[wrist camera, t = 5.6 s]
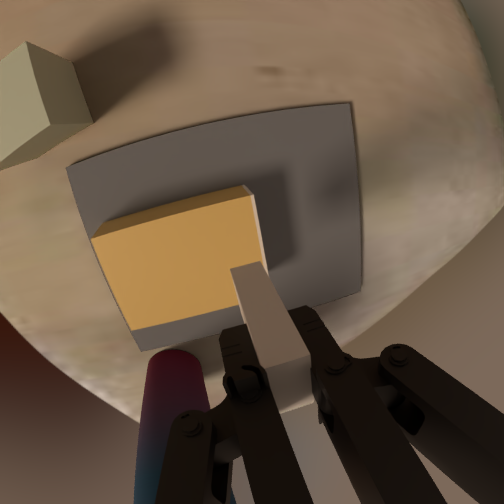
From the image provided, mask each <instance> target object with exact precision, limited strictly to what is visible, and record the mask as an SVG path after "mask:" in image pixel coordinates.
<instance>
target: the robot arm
mask: <svg viewBox="0 0 504 504" xmlns="http://www.w3.org/2000/svg"><path fill="white" fill-rule="evenodd" d="M230 272H231V276H232V280H233V284H234V288H235V291H236V295H237V299H238V303H239V307H240V311H241V314H242V317H243V321H244V324H242V325H238V326H234V327H231V328H227V329H223V330H222V332H221V335H220V338H219V342H220V347H221V352H222V357H223V362H224V367H225V372H226V373H225V375H224V377H223V386H224V389H225V391H226V393H227V396H226V398H225V399H224V400H223V401H222V403H221V404H219V405H218V406H216V407H215V408H213V409H211V410H209V411H207V412H203V411H200V410H188V411H185V412H183V413H181V414H179V415H178V416H177V417H176V418H175V419H174V420H173V423H172V425H171V428H170V432H169V437H168V441H167V446H166V450H165V455H164V460H163V464H162V469H161V474H160V479H159V484H158V489H157V494H156V499H155V504H230V497H231V482H232V467H233V460H234V459H236V458H238V457H240V456H241V455H242V457H243V461H244V464H245V469H246V472H247V476H248V480H249V484H250V488H251V491H252V495H253V499H254V502H255V504H314V503H313V501H312V498H311V496H310V493H309V491H308V488H307V485H306V483H305V480H304V478H303V475H302V472H301V470H300V467H299V464H298V462H297V459H296V457H295V454H294V451H293V448H292V446H291V444H290V441H289V438H288V435H287V432H286V430H285V427H284V424H283V421H282V419H281V416H280V413H283V412H286V411H290V410H293V409H296V408H299V407H302V406H305V405H308V404H311V403H313V402H314V398H315V400H316V402H317V404H318V419H319V424H321V423H322V422H323V424H324V426H325V428H326V430H327V432H328V435H329V437H330V439H331V441H332V443H333V445H334V447H335V449H336V451H337V454H338V456H339V458H340V460H341V462H342V464H343V466H344V469H345V471H346V473H347V475H348V477H349V479H350V481H351V483H352V486H353V488H354V489H355V492H356V494H357V496H358V498H359V500H360V502H361V504H447V503H446V501H445V499H444V498H443V496H442V494H441V493H440V491H439V489H438V488H437V486H436V484H435V483H434V481H433V479H432V478H431V476H430V475H429V473H428V471H427V470H426V468H425V467H424V465H423V463H422V462H421V460H420V459H419V457H418V455H417V454H416V452H415V451H414V449H413V448H412V446H411V444H412V445H413V446H414V447H415V448H416V449H417V450H418V451H419V452H421V453H422V454H423V455H424V456H425V457H426V458H427V459H429V460H430V461H431V462H432V463H433V464H434V465H435V466H436V467H437V468H439V469H440V470H441V471H442V472H443V473H444V474H445V475H447V476H448V477H449V478H450V479H451V480H452V481H454V482H455V483H456V484H457V485H458V486H459V487H461V488H462V489H463V490H464V491H465V492H466V493H468V494H469V495H470V496H471V497H472V498H474V499H475V500H476V501H477V502H478V503H479V504H504V414H503V413H501V412H500V411H498V410H497V409H496V408H495V407H493V406H492V405H491V404H489V403H488V402H487V401H485V400H484V399H482V398H481V397H479V396H478V395H477V394H475V393H474V392H473V391H471V390H470V389H469V388H467V387H466V386H464V385H463V384H462V383H460V382H459V381H458V380H456V379H455V378H453V377H452V376H451V375H449V374H448V373H446V372H445V371H444V370H442V369H441V368H440V367H438V366H437V365H435V364H434V363H433V362H431V361H430V360H428V359H427V358H426V357H424V356H423V355H421V354H420V353H418V352H417V351H416V350H414V349H413V348H411V347H409V346H407V345H404V344H392V345H390V346H388V347H386V348H385V349H384V350H383V351H382V352H381V355H380V357H373V358H364V359H358V358H353V357H352V356H351V355H349V354H347V353H344V352H342V350H341V349H340V347H339V346H338V344H337V343H336V341H335V340H334V338H333V337H332V335H331V334H330V332H329V331H328V329H327V328H326V327H325V325H324V323H323V322H322V320H321V319H320V317H319V316H318V314H317V313H316V311H315V310H313V309H312V308H310V307H308V306H307V305H304V306H301V307H298V308H294V309H291V310H288V311H287V310H286V308H285V306H284V304H283V302H282V300H281V299H280V297H279V295H278V293H277V291H276V289H275V287H274V286H273V284H272V282H271V280H270V278H269V276H268V274H267V273H266V271H265V269H264V267H263V265H262V263H261V261H257V262H254V263H250V264H246V265H242V266H239V267H235V268H231V269H230ZM409 442H410V443H411V444H410V443H409Z"/></svg>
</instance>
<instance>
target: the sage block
mask: <svg viewBox="0 0 504 504" xmlns="http://www.w3.org/2000/svg"><path fill="white" fill-rule="evenodd" d="M93 123H94V122H93V120H92V117H91V115H90V112H89V109H88V107H87V104H86V101H85V98H84V95H83V93H82V90H81V87H80V84H79V81H78V78H77V75H76V72H75V69H74V66H73V63H72V62H70V61H68V60H66V59H64V58H62V57H60V56H58V55H56V54H53V53H51V52H49V51H47V50H45V49H43V48H40V47H38V46H36V45H34V44H31V43H29V42H27V41H25V42H24V43H22V44H21V45H20V46H18V47H17V48H16V49H14V50H13V51H12V52H11V53H9V54H8V55H7V56H6V57H4V58H3V59H2V60H1V61H0V171H1V170H3V169H6V168H9V167H12V166H15V165H18V164H21V163H24V162H27V161H30V160H33V159H36V158H38V157H40V156H41V155H43V154H44V153H46V152H47V151H49V150H50V149H52V148H53V147H55V146H56V145H58V144H59V143H61V142H63V141H64V140H66V139H68V138H69V137H71V136H72V135H74V134H76V133H78V132H79V131H81V130H83V129H84V128H86V127H88V126H90V125H91V124H93Z"/></svg>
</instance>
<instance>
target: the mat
mask: <svg viewBox="0 0 504 504" xmlns="http://www.w3.org/2000/svg"><path fill="white" fill-rule="evenodd" d="M66 170H67V174H68V178H69V181H70V184H71V188H72V191H73V194H74V197H75V200H76V204H77V207H78V210H79V213H80V215H81V218H82V221H83V224H84V227H85V230H86V232H87V235H88V238H89V240H90V243H91V246H92V248H93V251H94V253H95V256H96V258H97V261H98V263H99V265H100V268H101V270H102V273H103V275H104V277H105V280H106V282H107V284H108V286H109V289H110V291H111V293H112V295H113V297H114V299H115V302H116V304H117V306H118V308H119V310H120V312H121V314H122V316H123V318H124V320H125V322H126V324H127V326H128V328H129V330H130V332H131V334H132V336H133V338H134V340H135V341H136V343H137V345H138V347H139V349H140V351H141V352H142V351H147V350H151V349H156V348H161V347H165V346H170V345H174V344H179V343H183V342H187V341H192V340H196V339H200V338H204V337H208V336H212V335H216V334H220V333H221V332H222V330H223V329H227V328H231V327H234V326H238V325H242V324H244V321H243V317H242V314H241V311H240V307H239V305H235V306H232V307H228V308H224V309H220V310H216V311H212V312H208V313H205V314H201V315H197V316H193V317H188V318H184V319H180V320H176V321H172V322H168V323H163V324H159V325H155V326H150V327H146V328H142V329H137V330H133V331H131V329H130V327H129V325H128V323H127V321H126V319H125V317H124V315H123V313H122V311H121V309H120V307H119V305H118V303H117V301H116V298H115V296H114V294H113V292H112V290H111V287H110V285H109V283H108V281H107V278H106V276H105V274H104V271H103V269H102V267H101V264H100V262H99V259H98V257H97V254H96V252H95V249H94V247H93V244H92V242H91V238H92V236H93V235H94V234H95V232H96V231H97V230H98V228H99V227H100V226H101V224H102V223H104V222H107V221H110V220H114V219H117V218H120V217H123V216H127V215H130V214H133V213H137V212H140V211H144V210H147V209H151V208H154V207H158V206H161V205H165V204H169V203H172V202H176V201H180V200H183V199H187V198H191V197H195V196H199V195H203V194H207V193H211V192H215V191H219V190H223V189H227V188H231V187H236V186H240V185H245V186H246V187H247V188H248V189H249V190H250V191H251V192H252V193H253V194H254V199H255V204H256V209H257V215H258V220H259V226H260V231H261V236H262V242H263V247H264V253H265V259H266V264H267V270H268V275H269V278H270V280H271V282H272V284H273V286H274V287H275V289H276V291H277V293H278V295H279V297H280V299H281V300H282V302H283V304H284V306H285V308H286V310H287V311H288V310H291V309H294V308H298V307H301V306H304V305H307V306H308V307H310V308H312V307H315V306H318V305H321V304H324V303H327V302H330V301H333V300H336V299H339V298H342V297H345V296H348V295H351V294H354V293H357V292H360V291H361V232H360V207H359V190H358V176H357V164H356V154H355V144H354V135H353V127H352V119H351V112H350V105H349V104H334V105H323V106H312V107H303V108H295V109H287V110H280V111H273V112H266V113H260V114H254V115H248V116H243V117H237V118H232V119H227V120H222V121H217V122H213V123H208V124H203V125H199V126H195V127H191V128H187V129H183V130H179V131H175V132H171V133H167V134H164V135H160V136H156V137H153V138H149V139H146V140H143V141H139V142H136V143H133V144H130V145H127V146H124V147H120V148H117V149H114V150H112V151H109V152H106V153H103V154H100V155H97V156H95V157H92V158H89V159H86V160H84V161H81V162H79V163H76V164H74V165H71V166H69V167H66Z"/></svg>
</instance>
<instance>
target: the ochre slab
mask: <svg viewBox="0 0 504 504" xmlns="http://www.w3.org/2000/svg"><path fill="white" fill-rule="evenodd" d="M91 242H92V244H93V247H94V249H95V252H96V254H97V257H98V259H99V262H100V264H101V267H102V269H103V271H104V274H105V276H106V278H107V281H108V283H109V285H110V287H111V290H112V292H113V294H114V296H115V298H116V301H117V303H118V305H119V307H120V309H121V311H122V313H123V315H124V317H125V319H126V321H127V323H128V325H129V327H130V329H131V331H133V330H137V329H142V328H146V327H150V326H155V325H159V324H163V323H168V322H172V321H176V320H180V319H184V318H188V317H193V316H197V315H201V314H205V313H208V312H212V311H216V310H220V309H224V308H228V307H232V306H235V305H239V303H238V299H237V295H236V291H235V288H234V284H233V280H232V276H231V272H230V269H231V268H235V267H239V266H242V265H246V264H250V263H254V262H257V261H261V263H262V265H263V267H264V269H265V271H266V273H267V274H268V270H267V264H266V259H265V253H264V247H263V242H262V236H261V231H260V226H259V220H258V215H257V209H256V204H255V199H254V194H253V193H252V192H251V191H250V190H249V189H248V188H247V187H246V186H245V185H240V186H236V187H231V188H227V189H223V190H219V191H215V192H211V193H207V194H203V195H199V196H195V197H191V198H187V199H183V200H180V201H176V202H172V203H169V204H165V205H161V206H158V207H154V208H151V209H147V210H144V211H140V212H137V213H133V214H130V215H127V216H123V217H120V218H117V219H114V220H110V221H107V222H104V223H102V224H101V226H100V227H99V228H98V230H97V231H96V232H95V234H94V235H93V236H92V238H91ZM268 276H269V275H268Z"/></svg>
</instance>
